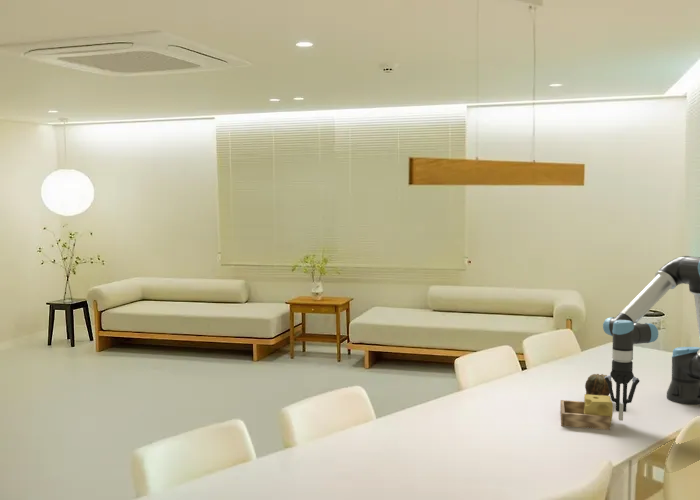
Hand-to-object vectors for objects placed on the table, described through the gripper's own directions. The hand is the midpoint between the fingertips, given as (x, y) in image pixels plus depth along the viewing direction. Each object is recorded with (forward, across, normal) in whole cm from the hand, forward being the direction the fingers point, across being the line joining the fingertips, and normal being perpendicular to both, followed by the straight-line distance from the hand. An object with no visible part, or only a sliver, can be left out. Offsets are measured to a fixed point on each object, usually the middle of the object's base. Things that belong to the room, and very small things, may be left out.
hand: (620, 419), depth 275 cm
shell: (+2, +6, -29) cm, 30 cm away
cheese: (+2, +9, +1) cm, 9 cm away
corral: (+2, +13, 0) cm, 13 cm away
